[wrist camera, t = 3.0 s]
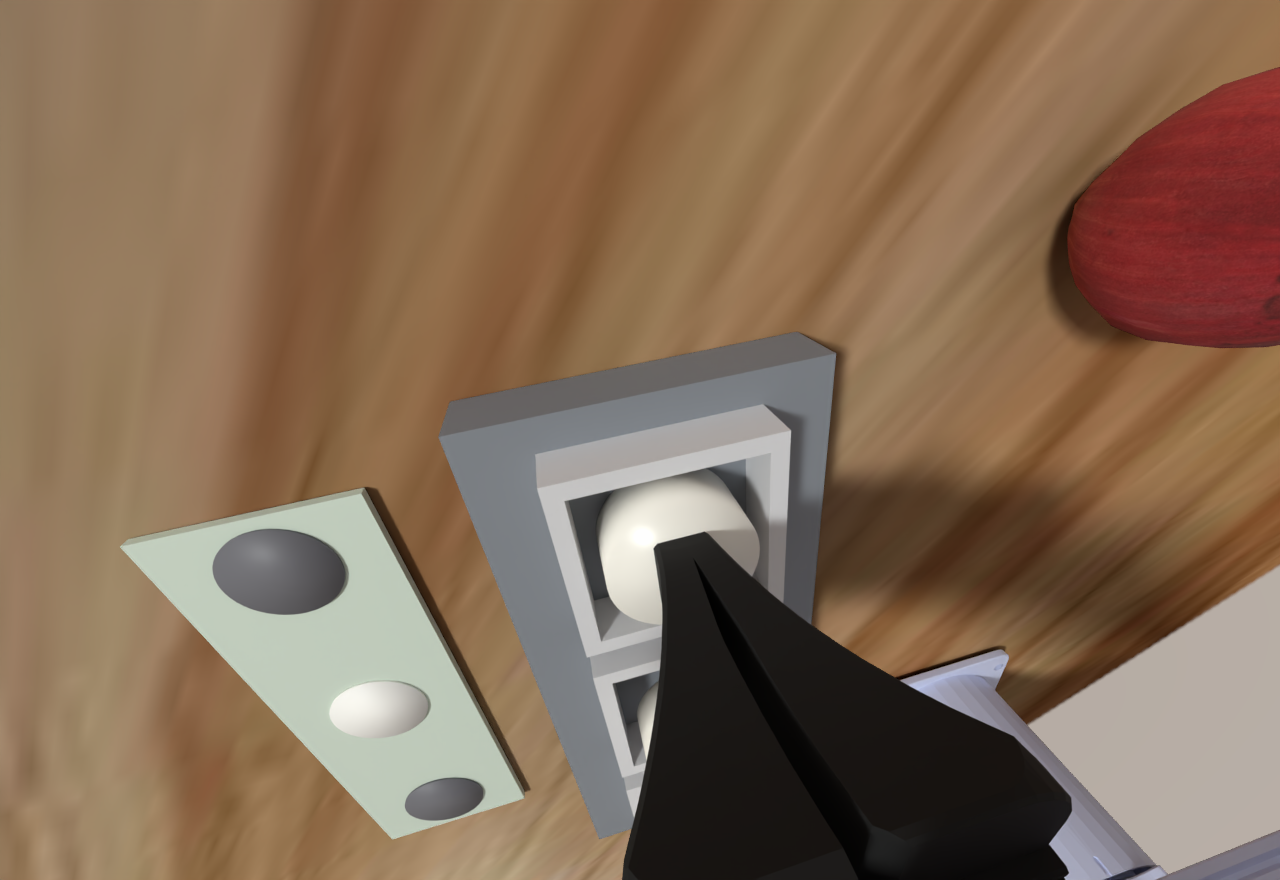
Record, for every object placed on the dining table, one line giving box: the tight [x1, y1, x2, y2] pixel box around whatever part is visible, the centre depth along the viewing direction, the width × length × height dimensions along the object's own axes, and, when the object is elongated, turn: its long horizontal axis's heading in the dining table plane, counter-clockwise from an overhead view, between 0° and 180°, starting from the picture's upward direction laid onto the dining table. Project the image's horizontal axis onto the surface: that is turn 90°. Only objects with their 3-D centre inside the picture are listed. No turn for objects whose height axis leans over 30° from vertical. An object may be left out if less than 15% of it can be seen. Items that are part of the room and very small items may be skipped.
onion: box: [1067, 67, 1280, 348], centre depth 10 cm, size 6×6×8 cm
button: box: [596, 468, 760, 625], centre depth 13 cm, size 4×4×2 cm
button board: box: [439, 332, 836, 839], centre depth 17 cm, size 22×10×4 cm, turn 7°
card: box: [120, 488, 525, 839], centre depth 17 cm, size 18×6×1 cm, turn 7°
